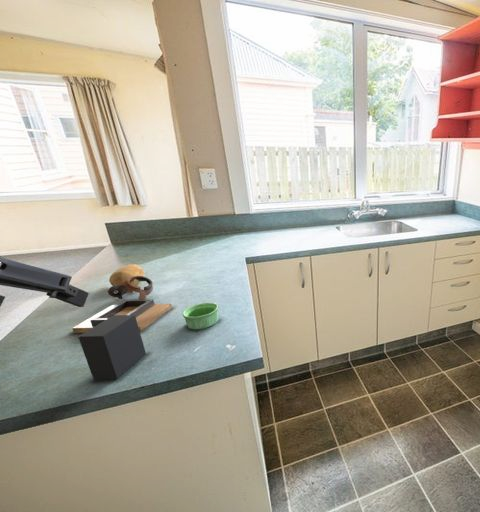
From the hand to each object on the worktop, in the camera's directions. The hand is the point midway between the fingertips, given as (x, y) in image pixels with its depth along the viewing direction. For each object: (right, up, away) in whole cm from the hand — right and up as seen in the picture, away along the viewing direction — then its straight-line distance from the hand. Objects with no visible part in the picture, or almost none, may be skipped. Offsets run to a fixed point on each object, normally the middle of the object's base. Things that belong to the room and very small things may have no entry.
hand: (42, 302), depth 54 cm
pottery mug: (-26, -6, +49) cm, 56 cm away
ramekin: (+8, -12, +34) cm, 37 cm away
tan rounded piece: (-34, -3, +58) cm, 68 cm away
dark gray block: (0, -17, +16) cm, 23 cm away
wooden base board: (-16, -11, +36) cm, 40 cm away
